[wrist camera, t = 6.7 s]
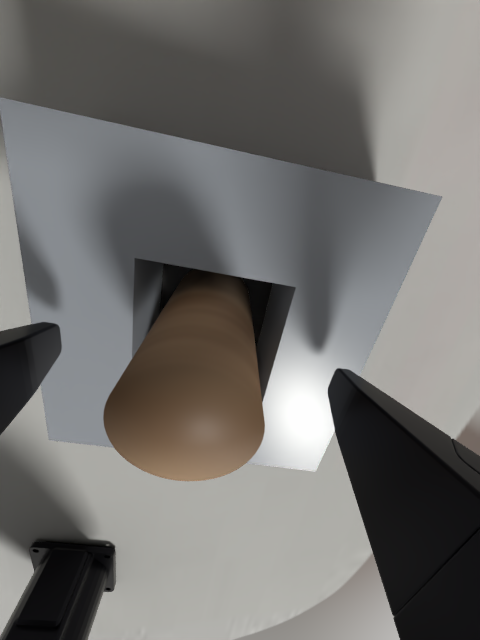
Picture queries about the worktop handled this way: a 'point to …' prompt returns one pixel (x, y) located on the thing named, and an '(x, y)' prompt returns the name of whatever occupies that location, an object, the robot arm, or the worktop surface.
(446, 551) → the robot arm
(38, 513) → the worktop surface
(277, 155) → the worktop surface
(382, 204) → the socket
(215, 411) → the peg
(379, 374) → the worktop surface
